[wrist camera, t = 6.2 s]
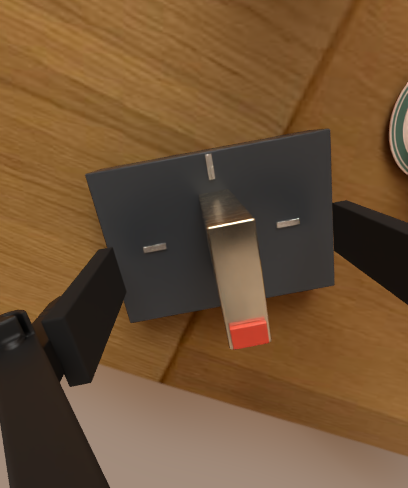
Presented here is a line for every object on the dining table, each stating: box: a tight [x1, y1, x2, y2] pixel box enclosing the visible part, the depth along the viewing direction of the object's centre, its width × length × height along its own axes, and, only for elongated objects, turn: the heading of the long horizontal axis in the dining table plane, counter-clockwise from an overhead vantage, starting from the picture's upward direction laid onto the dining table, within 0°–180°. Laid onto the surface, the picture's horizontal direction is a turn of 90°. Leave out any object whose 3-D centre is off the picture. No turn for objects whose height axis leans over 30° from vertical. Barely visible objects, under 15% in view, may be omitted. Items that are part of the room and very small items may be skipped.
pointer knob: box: [199, 189, 271, 350], centre depth 15 cm, size 6×2×7 cm, turn 11°
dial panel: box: [85, 129, 334, 323], centre depth 19 cm, size 14×10×3 cm
